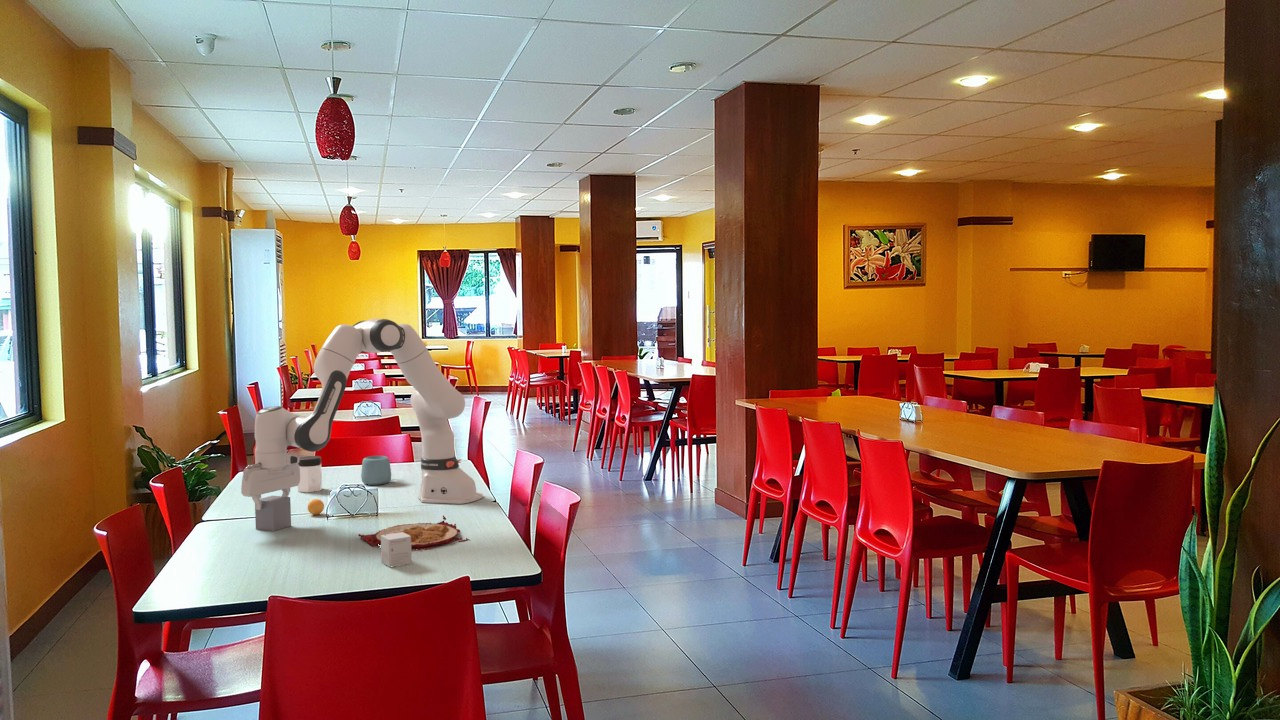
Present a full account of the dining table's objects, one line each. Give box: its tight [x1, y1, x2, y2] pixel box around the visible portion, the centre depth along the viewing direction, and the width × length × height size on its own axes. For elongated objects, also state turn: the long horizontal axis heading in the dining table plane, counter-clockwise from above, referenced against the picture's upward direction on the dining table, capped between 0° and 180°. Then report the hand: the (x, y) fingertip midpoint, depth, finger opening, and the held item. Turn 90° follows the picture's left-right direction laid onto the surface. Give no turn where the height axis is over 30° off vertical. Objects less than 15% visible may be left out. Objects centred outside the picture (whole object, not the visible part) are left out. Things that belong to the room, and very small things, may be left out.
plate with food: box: [358, 515, 471, 552], centre depth 253 cm, size 25×26×4 cm
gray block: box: [254, 495, 292, 532], centre depth 268 cm, size 7×7×9 cm
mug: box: [360, 455, 392, 486], centre depth 337 cm, size 15×11×10 cm
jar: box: [297, 455, 323, 493], centre depth 323 cm, size 9×8×12 cm
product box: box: [380, 532, 413, 568], centre depth 229 cm, size 6×6×7 cm
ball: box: [307, 498, 325, 516], centre depth 284 cm, size 5×5×5 cm
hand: (271, 506), depth 267 cm, fingers open, 8 cm apart
